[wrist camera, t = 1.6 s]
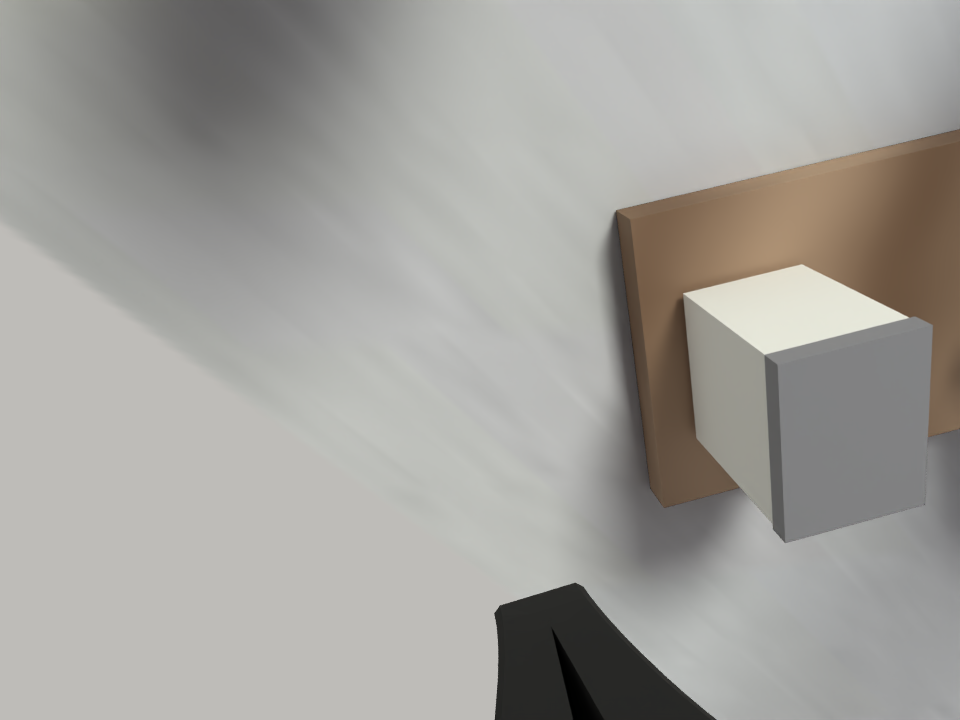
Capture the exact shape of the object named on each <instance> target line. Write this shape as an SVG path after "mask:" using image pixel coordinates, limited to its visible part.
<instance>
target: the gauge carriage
mask: <svg viewBox="0 0 960 720" xmlns="http://www.w3.org/2000/svg"><path fill="white" fill-rule="evenodd" d="M683 299H684V310H685V320H686V331H687V342H688V353H689V363H690V374H691V385H692V396H693V407H694V417H695V428H696V438H697V440H698V441H699V442H700V443H701V444H702V445H703V446H704V447H705V449H706V450H707V451H708V452H709V453H710V454H711V455H712V456H713V458H714V459H715V460H716V461H717V462H718V463H719V464H720V465H721V466H722V468H723V469H724V470H725V471H726V472H727V473H728V474H729V475H730V477H731V478H732V479H733V480H734V481H735V482H736V483H737V484H738V486H739V487H740V488H741V489H742V490H743V491H744V492H745V493H746V495H747V496H748V497H749V498H750V499H751V500H752V501H753V502H754V504H755V505H756V506H757V507H758V508H759V509H760V510H761V511H762V513H763V514H764V515H765V516H766V517H767V518H768V519H769V520H770V521H771V523H772V524H773V530H774V531H775V532H776V533H777V534H778V535H779V537H780V538H781V539H782V540H783V541H784V542H785V543H788V542H791V541H795V540H799V539H802V538H806V537H809V536H813V535H817V534H820V533H824V532H828V531H831V530H835V529H839V528H842V527H846V526H849V525H853V524H857V523H860V522H864V521H868V520H871V519H875V518H879V517H882V516H886V515H890V514H893V513H897V512H900V511H904V510H908V509H911V508H915V507H919V506H922V505H925V491H926V468H927V446H928V423H929V401H930V378H931V356H932V333H933V325H932V324H930V323H928V322H926V321H924V320H922V319H919V318H917V317H911V318H909V317H907V316H905V315H903V314H901V313H899V312H897V311H895V310H893V309H891V308H889V307H887V306H885V305H883V304H881V303H879V302H877V301H875V300H873V299H871V298H869V297H867V296H865V295H863V294H861V293H859V292H857V291H855V290H853V289H851V288H849V287H847V286H845V285H843V284H841V283H839V282H837V281H835V280H833V279H831V278H829V277H827V276H824V275H822V274H820V273H818V272H816V271H814V270H812V269H810V268H808V267H806V266H804V265H802V264H801V265H797V266H793V267H789V268H785V269H781V270H777V271H772V272H768V273H764V274H760V275H756V276H752V277H748V278H744V279H740V280H736V281H732V282H728V283H724V284H720V285H716V286H711V287H707V288H703V289H699V290H695V291H691V292H687V293H683Z"/></svg>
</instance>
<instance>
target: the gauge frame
mask: <svg viewBox="0 0 960 720" xmlns="http://www.w3.org/2000/svg"><path fill="white" fill-rule="evenodd" d="M616 214H617V222H618V230H619V238H620V246H621V254H622V263H623V271H624V279H625V287H626V295H627V303H628V311H629V319H630V327H631V335H632V343H633V352H634V360H635V368H636V376H637V384H638V392H639V400H640V408H641V416H642V424H643V432H644V441H645V449H646V457H647V465H648V473H649V481H650V489H651V490H652V491H653V493H654V494H655V496H656V497H657V499H658V500H659V502H660V503H661V504H662V506H663V507H664V508H666V507H669V506H673V505H677V504H681V503H684V502H688V501H692V500H695V499H699V498H703V497H707V496H710V495H714V494H718V493H722V492H725V491H729V490H733V489H737V488H740V487H739V486H738V484H737V483H736V482H735V481H734V480H733V479H732V478H731V477H730V475H729V474H728V473H727V472H726V471H725V470H724V469H723V468H722V466H721V465H720V464H719V463H718V462H717V461H716V460H715V459H714V458H713V456H712V455H711V454H710V453H709V452H708V451H707V450H706V449H705V447H704V446H703V445H702V444H701V443H700V442H699V441H698V440H697V438H696V428H695V417H694V407H693V396H692V385H691V374H690V363H689V353H688V342H687V331H686V320H685V310H684V299H683V293H687V292H691V291H695V290H699V289H703V288H707V287H711V286H716V285H720V284H724V283H728V282H732V281H736V280H740V279H744V278H748V277H752V276H756V275H760V274H764V273H768V272H772V271H777V270H781V269H785V268H789V267H793V266H797V265H801V264H802V265H804V266H806V267H808V268H810V269H812V270H814V271H816V272H818V273H820V274H822V275H824V276H827V277H829V278H831V279H833V280H835V281H837V282H839V283H841V284H843V285H845V286H847V287H849V288H851V289H853V290H855V291H857V292H859V293H861V294H863V295H865V296H867V297H869V298H871V299H873V300H875V301H877V302H879V303H881V304H883V305H885V306H887V307H889V308H891V309H893V310H895V311H897V312H899V313H901V314H903V315H905V316H907V317H909V318H911V317H917V318H919V319H922V320H924V321H926V322H928V323H930V324H932V325H933V333H932V356H931V378H930V401H929V423H928V437H931V436H934V435H938V434H942V433H946V432H949V431H953V430H957V429H960V129H959V130H955V131H951V132H947V133H942V134H938V135H934V136H930V137H925V138H921V139H917V140H913V141H908V142H904V143H900V144H896V145H891V146H887V147H883V148H879V149H874V150H870V151H866V152H862V153H857V154H853V155H849V156H845V157H840V158H836V159H832V160H828V161H824V162H819V163H815V164H811V165H807V166H802V167H798V168H794V169H790V170H785V171H781V172H777V173H773V174H768V175H764V176H760V177H756V178H751V179H747V180H743V181H739V182H734V183H730V184H726V185H722V186H718V187H713V188H709V189H705V190H701V191H696V192H692V193H688V194H684V195H679V196H675V197H671V198H667V199H662V200H658V201H654V202H650V203H645V204H641V205H637V206H633V207H628V208H624V209H620V210H616Z"/></svg>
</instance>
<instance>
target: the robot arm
mask: <svg viewBox="0 0 960 720" xmlns="http://www.w3.org/2000/svg"><path fill="white" fill-rule="evenodd" d="M494 614H495V619H496V625H497V634H498V656H499V657H498V659H499V660H498V685H497V699H496V711H495V720H716V719H715V718H714V717H712V716H711V715H710V714H709V713H707V712H706V711H705V710H704V709H703V708H701V707H700V706H699V705H698V704H697V703H696V702H694V701H693V700H692V699H691V698H690V697H688V696H687V695H686V694H685V693H684V692H683V691H681V690H680V689H679V688H678V687H677V686H676V685H675V684H674V683H672V682H671V681H670V680H669V679H668V678H667V677H666V676H665V675H664V674H663V673H662V672H660V671H659V670H658V669H657V668H656V667H655V666H654V665H653V664H652V663H651V662H650V661H649V660H648V659H647V658H646V657H645V656H644V655H643V654H642V653H641V652H640V651H639V650H638V649H637V648H636V647H635V646H634V645H633V644H632V643H631V642H630V641H629V640H628V639H627V638H626V637H625V636H624V635H623V634H622V633H621V632H620V631H619V630H618V629H617V627H616V626H615V625H614V624H613V623H612V622H611V621H610V620H609V619H608V617H607V616H606V615H605V614H604V613H603V612H602V610H601V609H600V608H599V607H598V606H597V604H596V603H595V602H594V601H593V599H592V598H591V597H590V595H589V594H588V593H587V591H586V590H585V588H584V587H583V586H581V585H579V584H577V583H573V584H570V585H566V586H563V587H560V588H557V589H553V590H550V591H547V592H543V593H540V594H537V595H533V596H530V597H527V598H524V599H520V600H517V601H514V602H510V603H507V604H504V605H500V606H499V608H498V609H497V611H496V612H495V613H494Z"/></svg>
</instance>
